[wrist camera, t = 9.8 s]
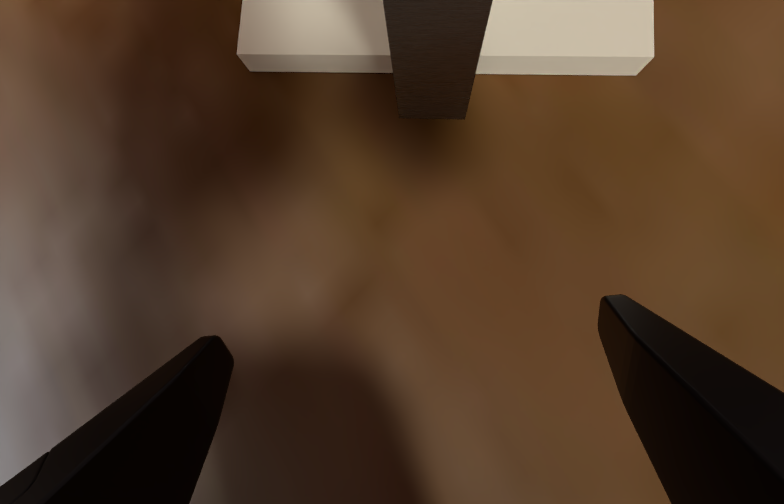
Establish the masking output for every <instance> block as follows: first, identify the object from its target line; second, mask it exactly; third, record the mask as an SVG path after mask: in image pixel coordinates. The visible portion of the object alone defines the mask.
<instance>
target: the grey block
mask: <svg viewBox="0 0 784 504" xmlns="http://www.w3.org/2000/svg"><path fill="white" fill-rule="evenodd" d="M492 1H493V0H383V6H384V13H385V20H386V27H387V34H388V41H389V48H390V56H391V63H392V70H393V77H394V84H395V91H396V99H397V106H398V113H399V118H422V119H465V116H466V112H467V108H468V103H469V99H470V95H471V91H472V86H473V82H474V78H475V74H476V69H477V65H478V61H479V57H480V52H481V48H482V44H483V40H484V35H485V31H486V27H487V23H488V18H489V14H490V10H491V6H492Z"/></svg>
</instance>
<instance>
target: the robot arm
mask: <svg viewBox="0 0 784 504" xmlns="http://www.w3.org/2000/svg"><path fill="white" fill-rule="evenodd" d="M598 332H599V336H600V339H601V342H602V344H603V347H604V350H605V353H606V356H607V359H608V362H609V365H610V368H611V370H612V373H613V376H614V379H615V382H616V385H617V388H618V391H619V393H620V396H621V399H622V401H623V404H624V406H625V408H626V410H627V413H628V415H629V417H630V419H631V421H632V423H633V425H634V427H635V429H636V431H637V433H638V435H639V438H640V440H641V442H642V444H643V446H644V448H645V450H646V452H647V454H648V456H649V458H650V460H651V462H652V464H653V467H654V469H655V471H656V473H657V475H658V477H659V479H660V481H661V483H662V485H663V487H664V489H665V491H666V493H667V496H668V498H669V500H670V502H671V504H784V393H783V392H782V391H780V390H778V389H777V388H775V387H774V386H772V385H770V384H769V383H767V382H765V381H764V380H762V379H761V378H759V377H757V376H756V375H754V374H752V373H751V372H749V371H748V370H746V369H744V368H743V367H741V366H739V365H738V364H736V363H735V362H733V361H731V360H730V359H728V358H726V357H725V356H723V355H722V354H720V353H718V352H717V351H715V350H713V349H712V348H710V347H709V346H707V345H705V344H704V343H702V342H700V341H699V340H697V339H696V338H694V337H692V336H691V335H689V334H687V333H686V332H684V331H683V330H681V329H679V328H678V327H676V326H675V325H673V324H671V323H670V322H668V321H666V320H665V319H663V318H662V317H660V316H658V315H657V314H655V313H653V312H652V311H650V310H649V309H647V308H645V307H644V306H642V305H640V304H639V303H637V302H636V301H634V300H632V299H631V298H629V297H627V296H625V295H621V294H619V295H609V296H604V297H602V298H601V301H600V308H599V317H598ZM233 366H234V360H233V356H232V355H231V353H230V351H229V350H228V348H227V347H226V345H225V344H224V342H223V340H222V339H221V338H220V337H219V336H216V335H213V336H204V337H201V338H199V339H198V340H196V341H195V342H194V343H192V344H191V345H190V346H188V347H187V348H186V349H184V350H183V351H182V352H180V353H179V354H178V355H176V356H175V357H174V358H172V359H171V360H170V361H168V362H167V363H166V364H164V365H163V366H162V367H160V368H159V369H158V370H156V371H155V372H154V373H152V374H151V375H150V376H148V377H147V378H146V379H144V380H143V381H142V382H140V383H139V384H137V385H136V386H135V387H133V388H132V389H131V390H129V391H128V392H127V393H125V394H124V395H123V396H121V397H120V398H119V399H117V400H116V401H115V402H113V403H112V404H111V405H109V406H108V407H107V408H105V409H104V410H103V411H101V412H100V413H99V414H97V415H96V416H95V417H93V418H92V419H91V420H89V421H88V422H87V423H85V424H84V425H83V426H81V427H80V428H79V429H77V430H76V431H75V432H73V433H72V434H71V435H69V436H68V437H67V438H65V439H64V440H63V441H61V442H60V443H59V444H57V445H56V446H55V447H53V448H52V449H51V450H50V452H47V453H45V454H44V455H42V456H41V457H40V458H38V459H37V460H36V461H34V462H33V463H32V464H30V465H29V466H28V467H26V468H25V469H24V470H22V471H21V472H20V473H18V474H17V475H15V476H14V477H13V478H11V479H10V480H9V481H7V482H6V483H5V484H3V485H2V486H0V504H189V503H190V500H191V497H192V494H193V492H194V489H195V486H196V483H197V481H198V478H199V475H200V473H201V470H202V467H203V464H204V462H205V459H206V456H207V453H208V451H209V448H210V445H211V443H212V440H213V437H214V434H215V431H216V429H217V426H218V423H219V419H220V416H221V412H222V408H223V404H224V400H225V397H226V393H227V389H228V385H229V381H230V378H231V374H232V370H233Z"/></svg>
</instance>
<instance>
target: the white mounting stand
mask: <svg viewBox="0 0 784 504" xmlns="http://www.w3.org/2000/svg"><path fill="white" fill-rule="evenodd" d="M237 55H238V57H239V58H240V59H241V60H242V62H243V63H244V64H245V66H246V67H247V68H248V69H249V71H255V72H350V73H393V70H392V63H391V56H390V48H389V41H388V34H387V27H386V20H385V13H384V6H383V0H243V1H242V10H241V19H240V28H239V37H238V46H237ZM653 57H654V2H653V0H493V1H492V6H491V10H490V14H489V18H488V23H487V27H486V31H485V35H484V40H483V44H482V48H481V52H480V57H479V61H478V65H477V69H476V74H539V75H634V76H636V75H637V74H638V73H639V72H640V71H641V70H642V69H643V68H644V67H645V66H646V65H647V64H648V63H649V62H650V61H651V60H652V58H653Z"/></svg>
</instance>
